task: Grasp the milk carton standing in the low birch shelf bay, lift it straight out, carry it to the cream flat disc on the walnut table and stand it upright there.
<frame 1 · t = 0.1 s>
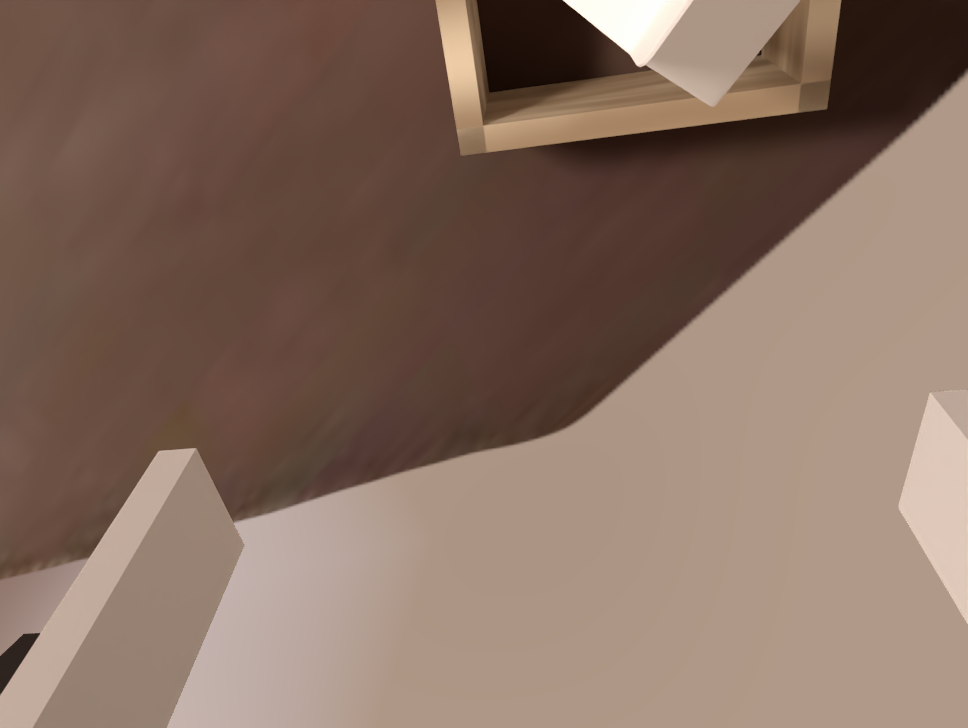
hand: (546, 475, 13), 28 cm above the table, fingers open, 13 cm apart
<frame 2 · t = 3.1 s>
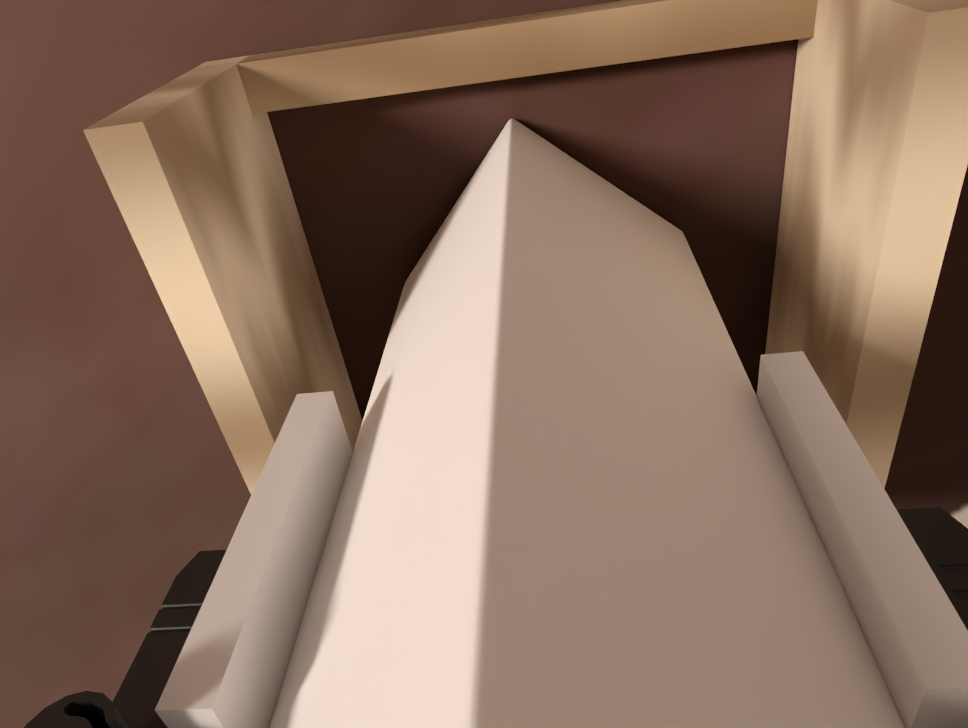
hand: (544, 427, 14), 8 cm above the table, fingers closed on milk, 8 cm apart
shelf bay: (542, 286, 21), on the table
milk: (539, 254, 21), resting in shelf bay, touching gripper
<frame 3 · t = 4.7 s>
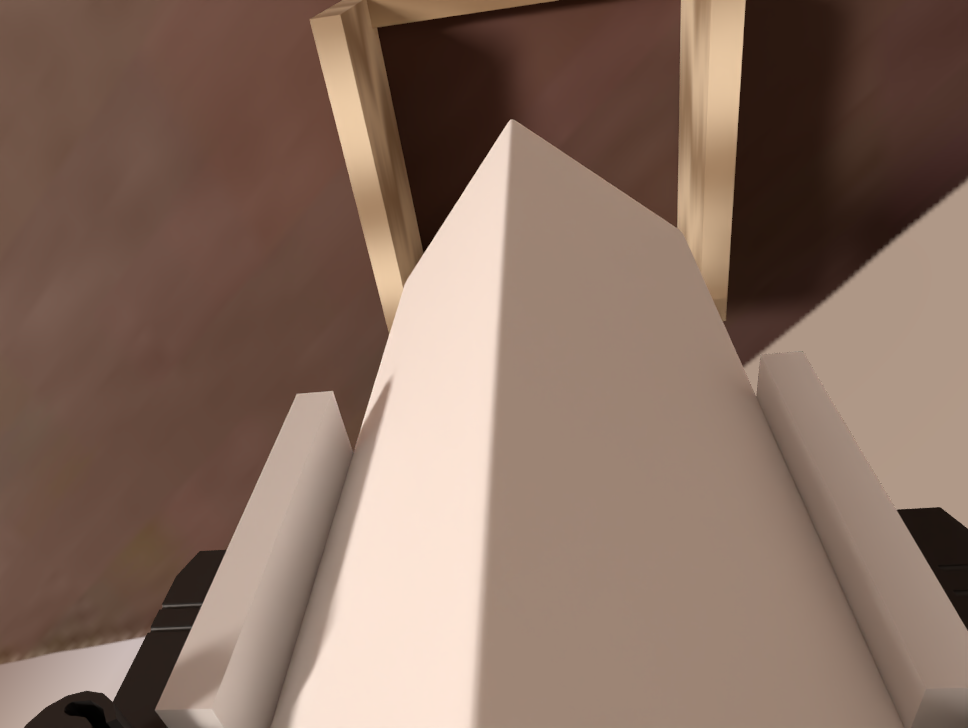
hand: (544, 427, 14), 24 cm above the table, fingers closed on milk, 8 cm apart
shelf bay: (538, 143, 34), on the table
milk: (539, 254, 21), point 15 cm above the table, touching gripper
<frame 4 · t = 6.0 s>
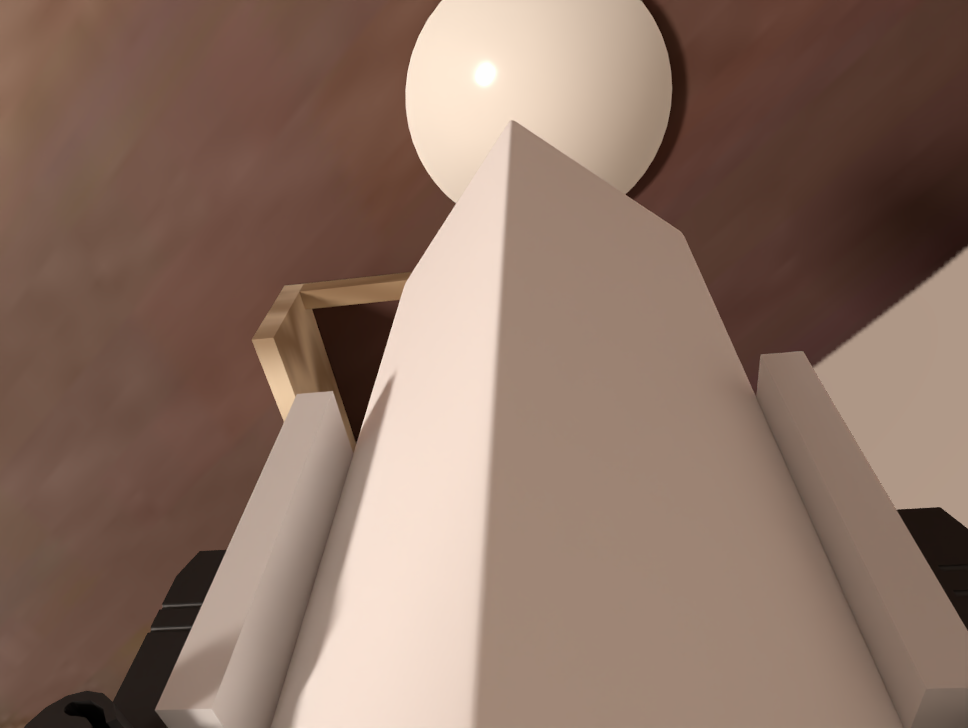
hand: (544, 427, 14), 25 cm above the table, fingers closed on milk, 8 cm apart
cream flat disc: (536, 103, 35), on the table
shelf bay: (438, 375, 45), on the table
milk: (539, 255, 21), point 17 cm above the table, touching gripper
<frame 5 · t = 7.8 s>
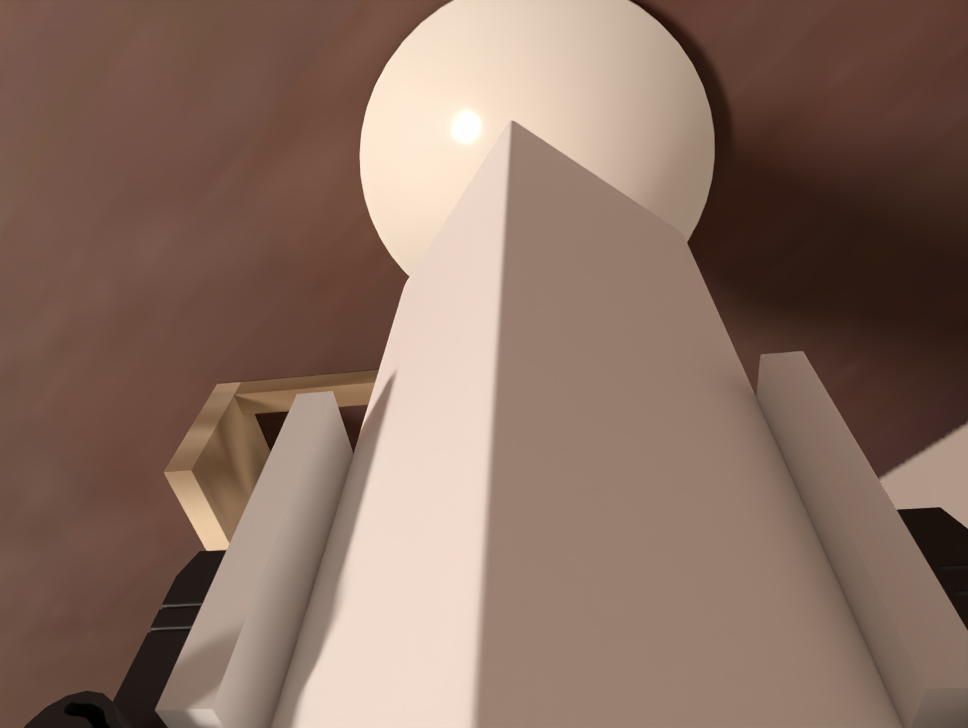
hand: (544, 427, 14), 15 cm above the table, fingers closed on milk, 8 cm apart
cream flat disc: (534, 170, 26), on the table
shelf bay: (412, 485, 36), on the table
milk: (539, 255, 21), point 7 cm above the table, touching gripper
when the fingers open (10 cm above the table, at t = 9.3 s): milk drops 1 cm, resting on cream flat disc.
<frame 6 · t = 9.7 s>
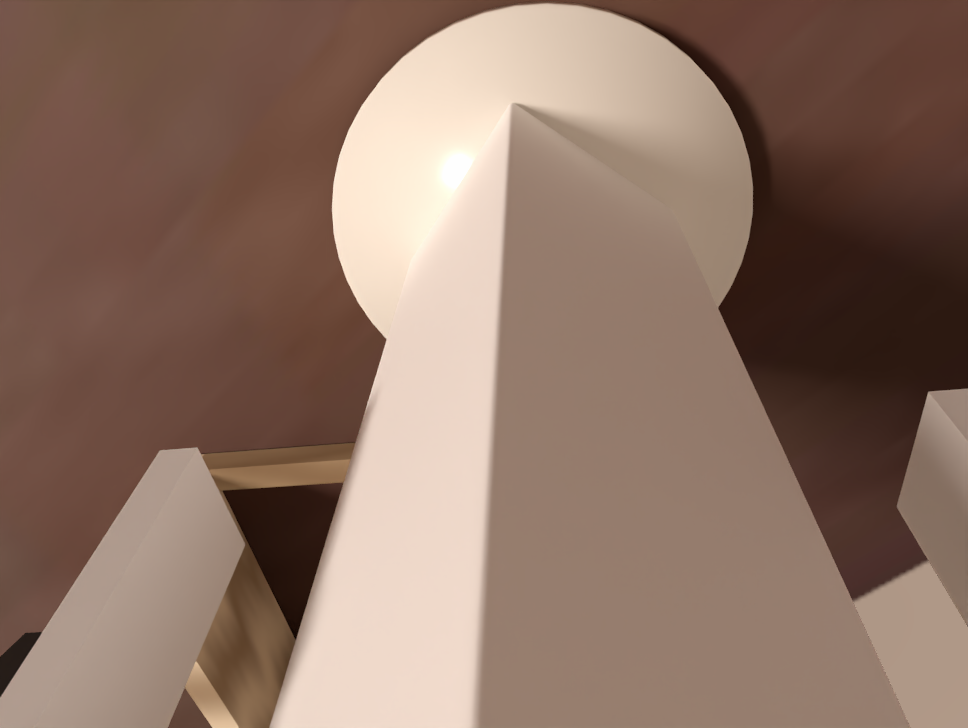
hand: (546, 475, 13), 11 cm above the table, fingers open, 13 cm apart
cream flat disc: (538, 226, 22), on the table
shelf bay: (399, 563, 32), on the table
milk: (537, 233, 22), point 1 cm above the table, touching cream flat disc
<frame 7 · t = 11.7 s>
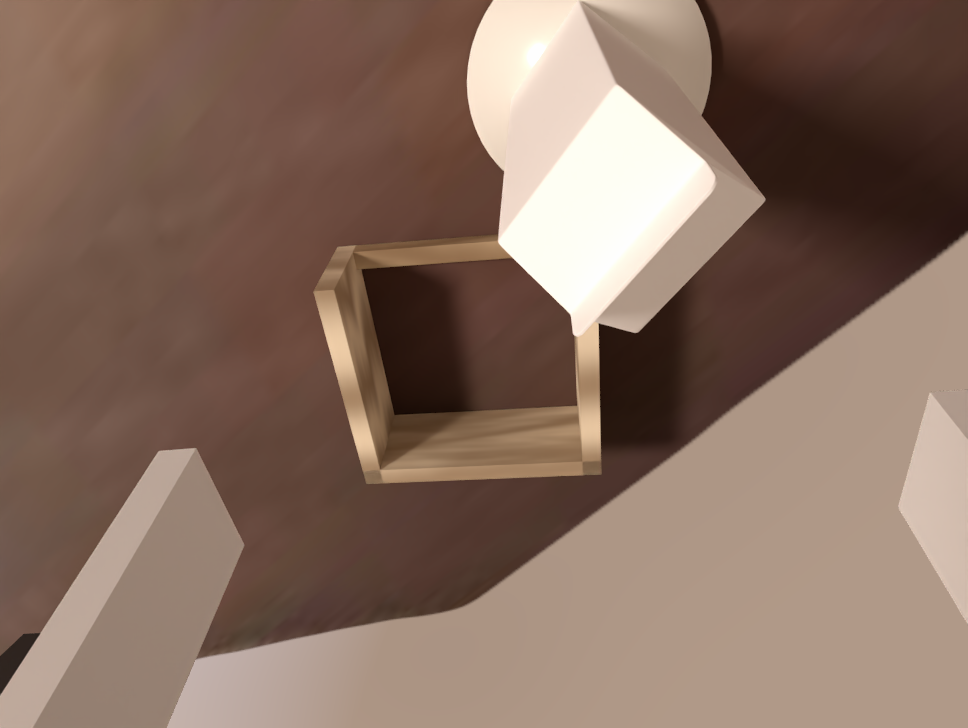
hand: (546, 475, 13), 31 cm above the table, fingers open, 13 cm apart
cream flat disc: (586, 82, 38), on the table
shelf bay: (474, 338, 48), on the table
milk: (586, 84, 37), point 1 cm above the table, touching cream flat disc
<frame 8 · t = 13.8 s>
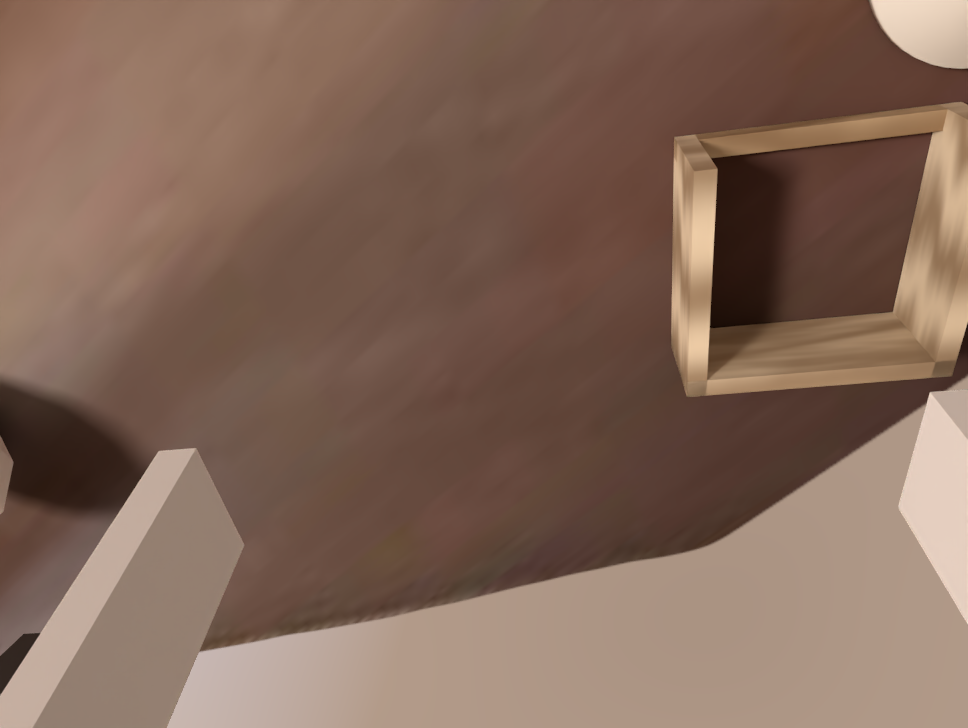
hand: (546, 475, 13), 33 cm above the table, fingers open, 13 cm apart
shelf bay: (799, 238, 45), on the table
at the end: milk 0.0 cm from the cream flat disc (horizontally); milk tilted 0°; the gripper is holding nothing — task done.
